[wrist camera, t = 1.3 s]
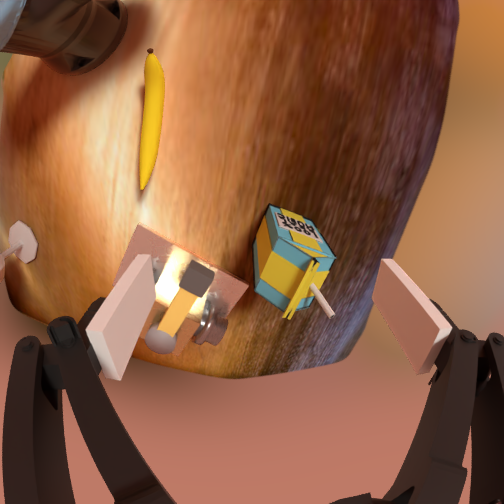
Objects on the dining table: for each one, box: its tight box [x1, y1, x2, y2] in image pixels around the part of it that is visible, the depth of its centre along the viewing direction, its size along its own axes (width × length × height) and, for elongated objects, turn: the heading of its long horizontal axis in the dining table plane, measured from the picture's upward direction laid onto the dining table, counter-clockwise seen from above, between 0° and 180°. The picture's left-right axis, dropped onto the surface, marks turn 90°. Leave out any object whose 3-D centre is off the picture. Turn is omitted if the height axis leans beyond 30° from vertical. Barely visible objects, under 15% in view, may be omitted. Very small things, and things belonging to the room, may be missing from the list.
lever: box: [145, 260, 215, 354], centre depth 36 cm, size 15×4×2 cm, turn 148°
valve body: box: [113, 222, 249, 356], centre depth 42 cm, size 20×13×10 cm, turn 58°
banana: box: [139, 48, 165, 190], centre depth 33 cm, size 3×19×6 cm, turn 174°
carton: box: [252, 203, 337, 320], centre depth 35 cm, size 7×8×18 cm
